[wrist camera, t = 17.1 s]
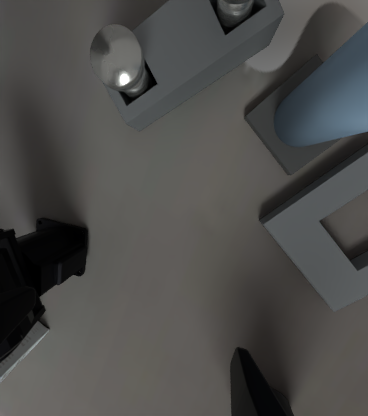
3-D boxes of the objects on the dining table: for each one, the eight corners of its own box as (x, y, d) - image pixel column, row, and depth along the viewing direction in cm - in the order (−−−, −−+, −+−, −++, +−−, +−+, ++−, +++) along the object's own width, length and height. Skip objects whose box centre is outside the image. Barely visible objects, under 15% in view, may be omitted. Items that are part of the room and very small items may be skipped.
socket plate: (258, 220, 19) (263, 224, 17) (371, 141, 16) (387, 138, 15) (324, 301, 20) (333, 312, 18) (441, 240, 17) (463, 246, 15)
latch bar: (139, 131, 18) (125, 123, 15) (112, 82, 18) (92, 63, 15) (268, 45, 16) (284, 13, 12) (241, -18, 15) (250, -68, 12)
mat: (244, 118, 17) (245, 115, 16) (311, 59, 15) (316, 53, 15) (287, 174, 17) (291, 174, 17) (356, 123, 16) (364, 121, 15)
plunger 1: (118, 104, 17) (88, 81, 12) (122, 60, 16) (92, 20, 12) (154, 110, 16) (136, 90, 12) (161, 66, 15) (144, 28, 11)
